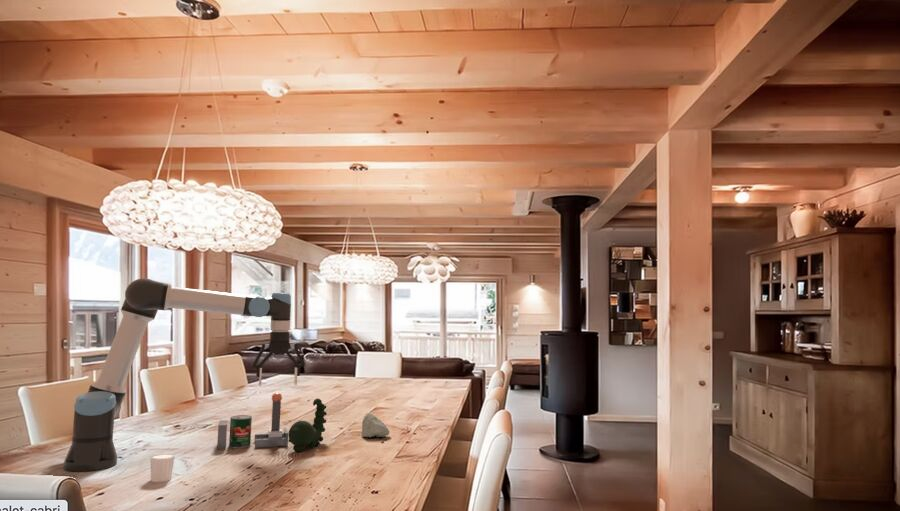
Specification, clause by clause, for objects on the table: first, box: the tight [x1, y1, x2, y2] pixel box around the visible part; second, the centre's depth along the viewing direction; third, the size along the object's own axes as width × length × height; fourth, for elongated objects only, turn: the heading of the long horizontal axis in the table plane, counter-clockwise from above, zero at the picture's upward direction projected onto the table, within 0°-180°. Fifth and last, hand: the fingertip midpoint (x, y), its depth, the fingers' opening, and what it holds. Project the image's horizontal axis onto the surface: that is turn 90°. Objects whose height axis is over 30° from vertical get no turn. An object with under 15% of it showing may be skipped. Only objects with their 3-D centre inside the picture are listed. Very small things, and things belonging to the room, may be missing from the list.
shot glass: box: [149, 453, 176, 483], centre depth 179 cm, size 7×7×7 cm
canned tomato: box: [228, 414, 253, 449], centre depth 225 cm, size 8×8×11 cm
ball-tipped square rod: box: [267, 392, 283, 439], centre depth 230 cm, size 7×5×20 cm
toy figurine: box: [288, 398, 328, 453], centre depth 224 cm, size 9×19×25 cm
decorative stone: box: [361, 413, 390, 438], centre depth 246 cm, size 13×11×10 cm
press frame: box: [216, 419, 289, 451], centre depth 227 cm, size 11×26×9 cm, turn 109°
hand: (277, 384), depth 232 cm, fingers open, 13 cm apart
